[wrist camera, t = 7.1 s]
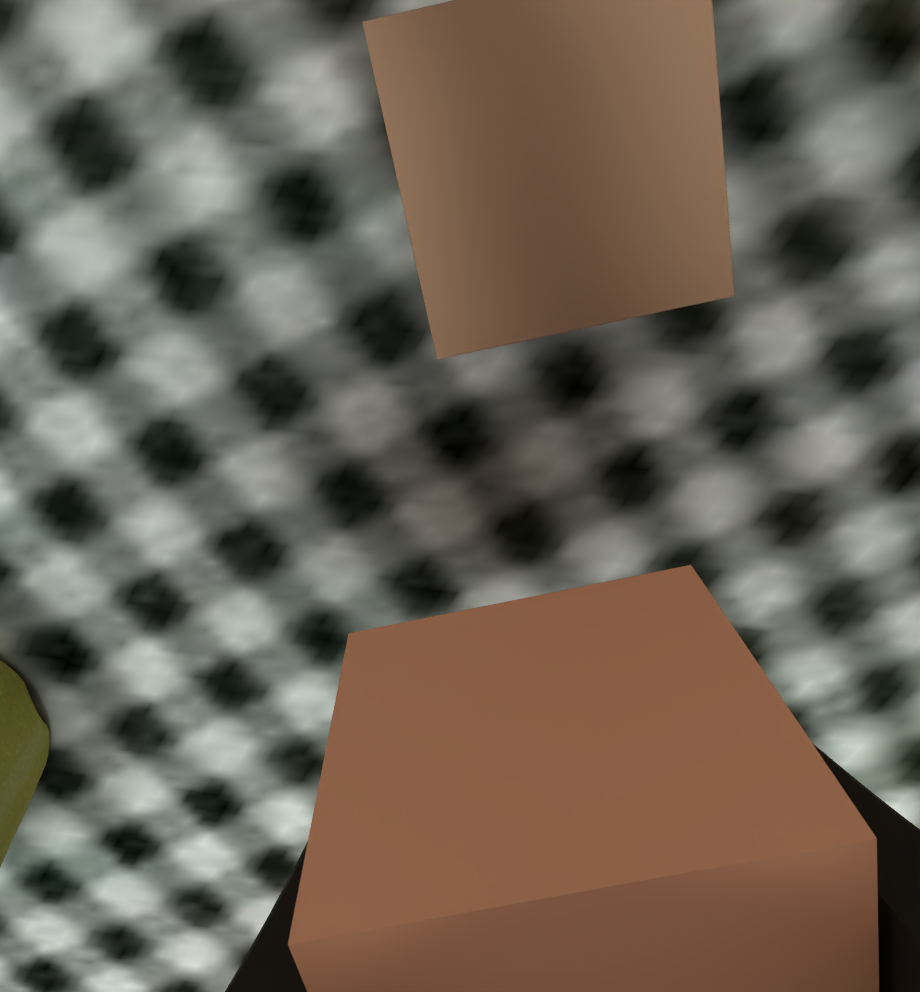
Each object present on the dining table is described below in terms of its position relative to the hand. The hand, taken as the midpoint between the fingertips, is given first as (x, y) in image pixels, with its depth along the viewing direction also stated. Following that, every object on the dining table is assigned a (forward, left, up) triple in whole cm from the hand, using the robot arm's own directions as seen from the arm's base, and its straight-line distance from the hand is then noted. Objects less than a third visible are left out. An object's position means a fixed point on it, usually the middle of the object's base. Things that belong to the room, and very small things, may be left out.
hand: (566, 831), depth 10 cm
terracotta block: (0, 0, -2) cm, 2 cm away
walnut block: (-2, -8, -10) cm, 13 cm away
